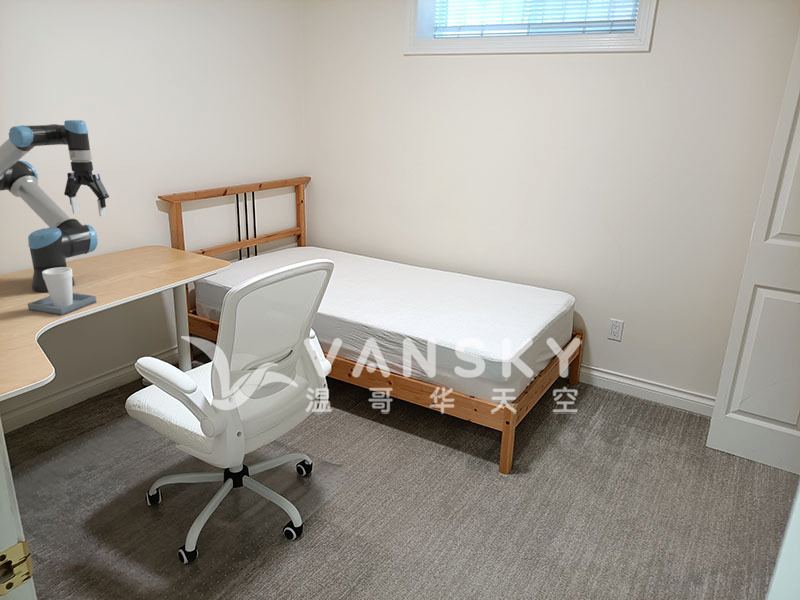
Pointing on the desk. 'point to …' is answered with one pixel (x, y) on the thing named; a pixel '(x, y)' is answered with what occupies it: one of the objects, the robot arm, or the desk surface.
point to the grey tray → (47, 307)
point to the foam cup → (59, 285)
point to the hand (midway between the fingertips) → (89, 214)
